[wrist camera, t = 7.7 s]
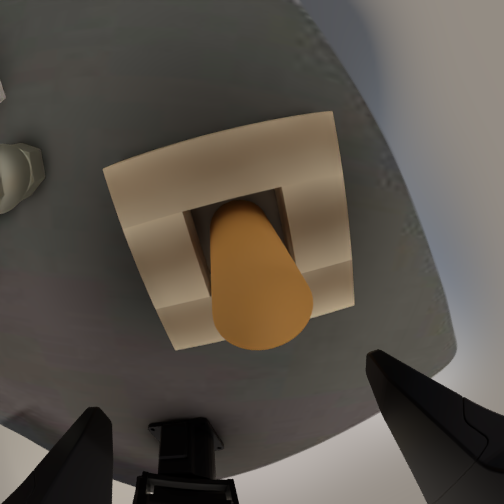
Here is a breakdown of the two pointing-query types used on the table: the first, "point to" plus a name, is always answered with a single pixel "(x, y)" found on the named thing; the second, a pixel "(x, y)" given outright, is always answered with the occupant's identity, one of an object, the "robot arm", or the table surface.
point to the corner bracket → (2, 93)
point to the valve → (19, 173)
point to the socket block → (229, 189)
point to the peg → (254, 280)
